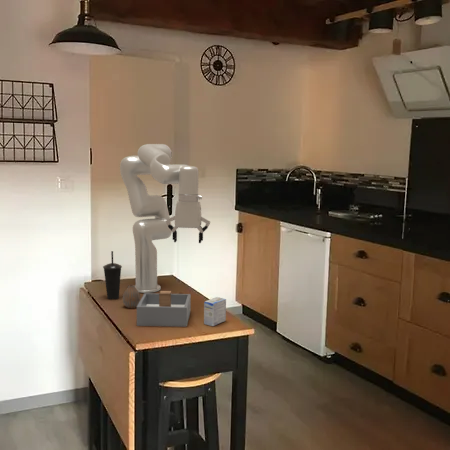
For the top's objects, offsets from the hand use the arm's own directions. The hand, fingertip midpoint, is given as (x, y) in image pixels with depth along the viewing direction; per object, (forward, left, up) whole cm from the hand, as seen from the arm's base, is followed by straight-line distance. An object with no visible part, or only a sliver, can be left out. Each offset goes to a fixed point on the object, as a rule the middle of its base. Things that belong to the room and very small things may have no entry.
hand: (187, 242), depth 220 cm
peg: (+12, -7, -27) cm, 31 cm away
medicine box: (+16, +11, -27) cm, 34 cm away
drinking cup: (-14, -33, -27) cm, 45 cm away
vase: (-2, -23, -27) cm, 35 cm away
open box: (+12, -8, -27) cm, 31 cm away
